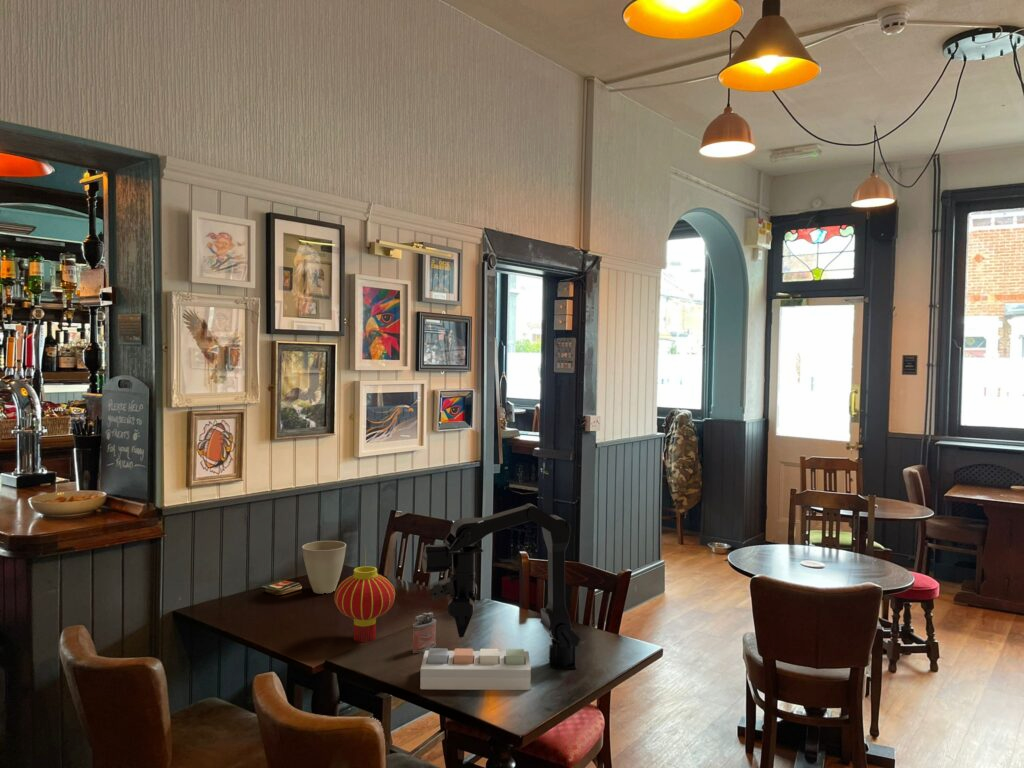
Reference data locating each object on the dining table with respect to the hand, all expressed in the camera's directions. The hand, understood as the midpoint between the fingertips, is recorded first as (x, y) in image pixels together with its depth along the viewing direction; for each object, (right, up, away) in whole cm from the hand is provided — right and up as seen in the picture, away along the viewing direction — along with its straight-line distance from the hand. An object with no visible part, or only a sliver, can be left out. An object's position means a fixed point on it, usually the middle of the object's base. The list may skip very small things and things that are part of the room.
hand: (462, 630), depth 192 cm
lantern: (-30, -11, +26) cm, 41 cm away
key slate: (-6, -7, -2) cm, 10 cm away
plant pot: (-53, -9, +70) cm, 89 cm away
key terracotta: (0, -7, -2) cm, 8 cm away
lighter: (-12, -11, +18) cm, 25 cm away
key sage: (+13, -8, -1) cm, 15 cm away
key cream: (+7, -8, -1) cm, 10 cm away
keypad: (+4, -12, -1) cm, 12 cm away
